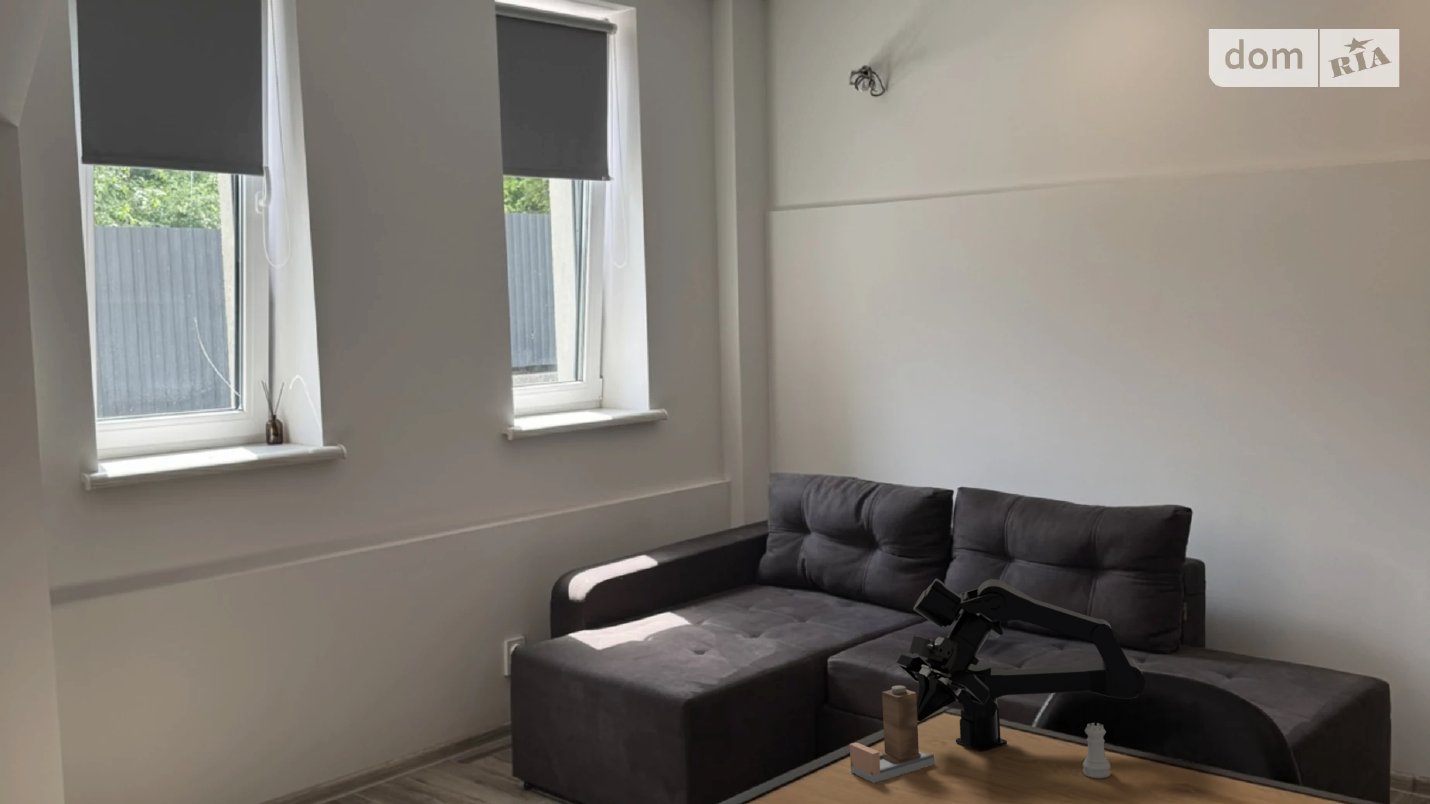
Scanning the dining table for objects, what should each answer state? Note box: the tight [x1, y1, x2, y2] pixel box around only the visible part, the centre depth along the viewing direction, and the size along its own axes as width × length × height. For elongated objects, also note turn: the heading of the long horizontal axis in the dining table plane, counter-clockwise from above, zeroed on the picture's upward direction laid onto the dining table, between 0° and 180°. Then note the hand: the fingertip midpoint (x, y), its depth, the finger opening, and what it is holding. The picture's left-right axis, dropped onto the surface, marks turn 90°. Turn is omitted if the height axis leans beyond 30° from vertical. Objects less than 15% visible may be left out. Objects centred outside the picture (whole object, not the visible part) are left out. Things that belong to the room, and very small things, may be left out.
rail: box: [849, 742, 936, 784], centre depth 198 cm, size 13×6×5 cm, turn 121°
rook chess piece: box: [1082, 722, 1112, 780], centre depth 191 cm, size 4×4×8 cm
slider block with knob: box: [881, 685, 921, 764], centre depth 199 cm, size 5×4×12 cm
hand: (916, 719), depth 201 cm, fingers closed
